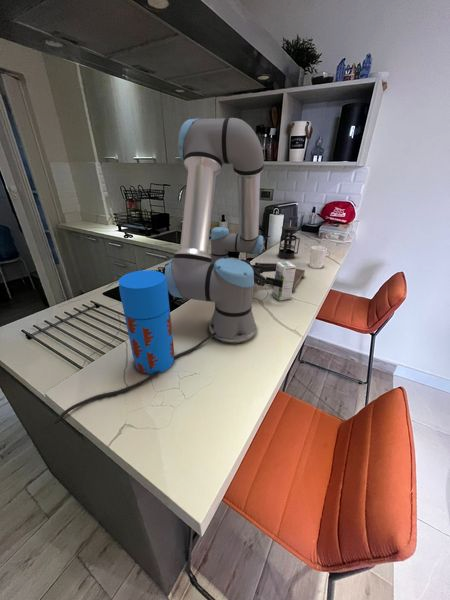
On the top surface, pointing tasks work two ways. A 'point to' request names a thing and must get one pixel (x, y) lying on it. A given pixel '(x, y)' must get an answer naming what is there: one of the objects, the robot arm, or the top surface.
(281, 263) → the syrup box
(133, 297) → the thermos
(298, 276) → the brown rectangular block
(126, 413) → the top surface
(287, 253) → the french press
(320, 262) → the white cup
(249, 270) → the robot arm
